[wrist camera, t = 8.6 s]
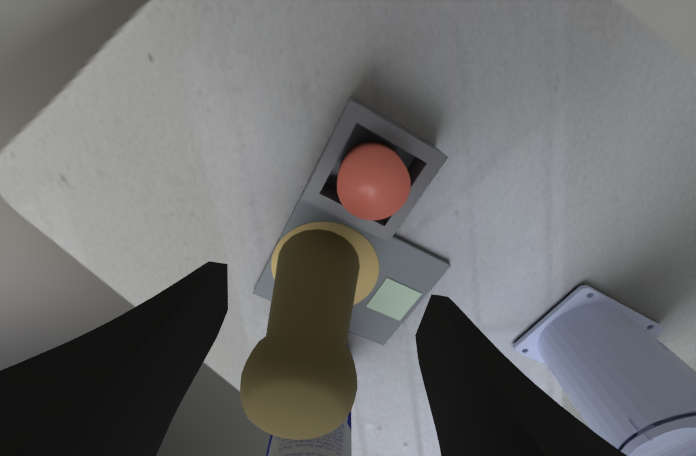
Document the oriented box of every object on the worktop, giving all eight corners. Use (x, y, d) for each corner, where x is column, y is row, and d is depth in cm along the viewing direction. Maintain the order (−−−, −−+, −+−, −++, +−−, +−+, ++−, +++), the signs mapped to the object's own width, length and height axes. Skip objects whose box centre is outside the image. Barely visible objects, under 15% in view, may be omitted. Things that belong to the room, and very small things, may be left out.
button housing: (435, 146, 18) (448, 157, 16) (384, 223, 21) (388, 241, 18) (350, 96, 17) (350, 99, 15) (306, 184, 19) (300, 199, 17)
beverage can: (276, 347, 26) (201, 623, 13) (327, 321, 25) (301, 603, 12) (313, 381, 28) (282, 648, 15) (362, 359, 27) (375, 634, 14)
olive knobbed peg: (262, 271, 22) (192, 429, 12) (307, 212, 20) (266, 347, 10) (328, 309, 24) (313, 474, 14) (376, 258, 21) (399, 413, 12)
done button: (415, 160, 17) (425, 172, 15) (381, 213, 18) (385, 231, 16) (358, 128, 16) (359, 135, 14) (327, 185, 18) (324, 201, 16)
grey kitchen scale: (449, 262, 22) (451, 266, 22) (383, 341, 26) (383, 346, 26) (303, 190, 20) (302, 193, 19) (254, 290, 23) (252, 294, 23)
